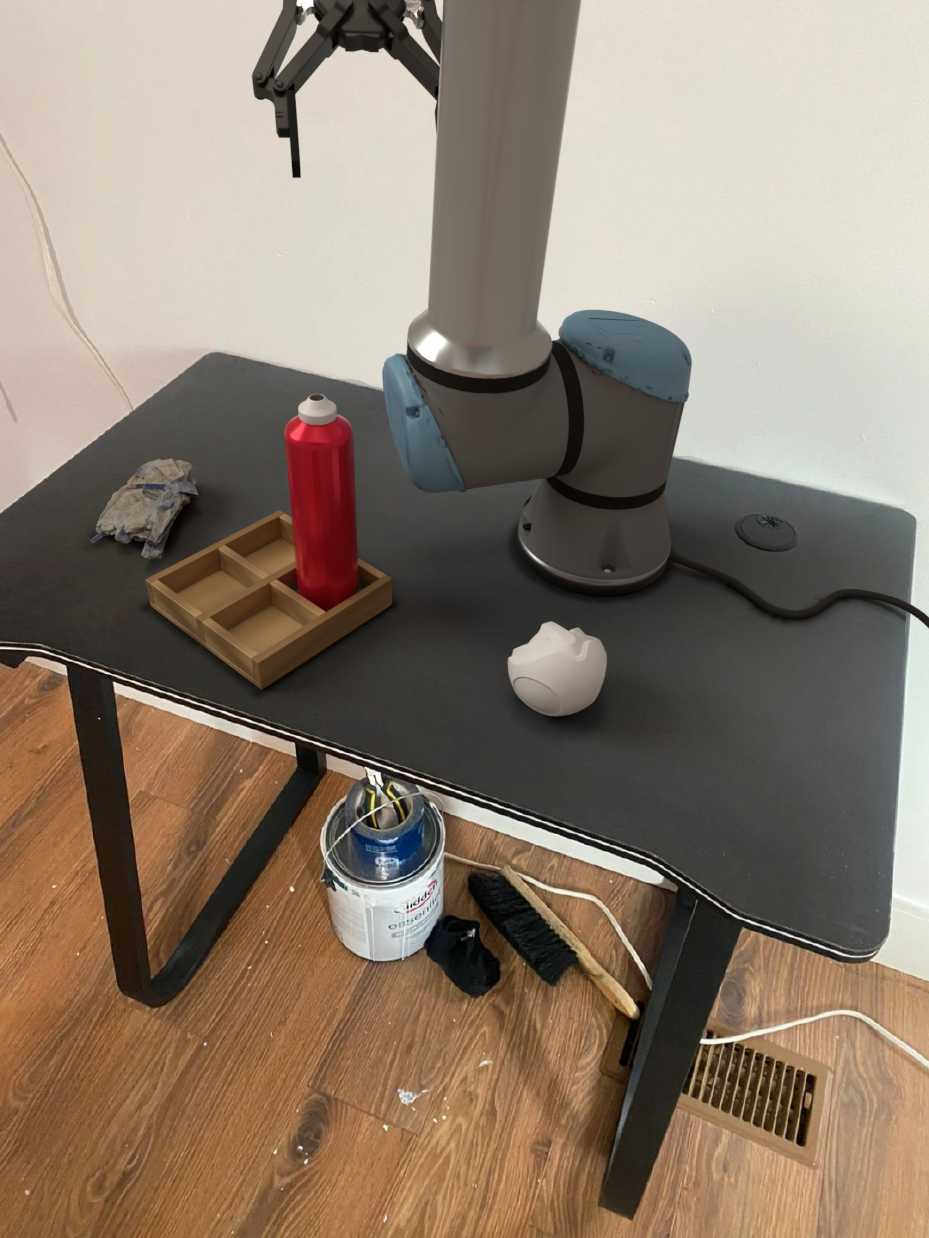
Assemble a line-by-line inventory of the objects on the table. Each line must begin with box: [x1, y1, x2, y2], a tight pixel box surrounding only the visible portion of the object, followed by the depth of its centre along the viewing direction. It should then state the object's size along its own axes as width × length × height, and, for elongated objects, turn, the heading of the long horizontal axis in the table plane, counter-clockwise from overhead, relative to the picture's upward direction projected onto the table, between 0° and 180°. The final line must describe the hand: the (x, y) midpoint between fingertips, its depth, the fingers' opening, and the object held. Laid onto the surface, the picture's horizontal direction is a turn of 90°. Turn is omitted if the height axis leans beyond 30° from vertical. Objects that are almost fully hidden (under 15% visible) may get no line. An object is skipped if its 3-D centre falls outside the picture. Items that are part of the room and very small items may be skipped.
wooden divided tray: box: [144, 510, 393, 691], centre depth 83 cm, size 15×15×3 cm
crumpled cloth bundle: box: [90, 458, 199, 560], centre depth 91 cm, size 15×8×4 cm, turn 168°
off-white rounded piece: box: [507, 621, 608, 717], centre depth 74 cm, size 8×8×8 cm
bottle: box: [283, 393, 359, 612], centre depth 77 cm, size 6×5×20 cm
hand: (372, 171), depth 84 cm, fingers open, 13 cm apart
